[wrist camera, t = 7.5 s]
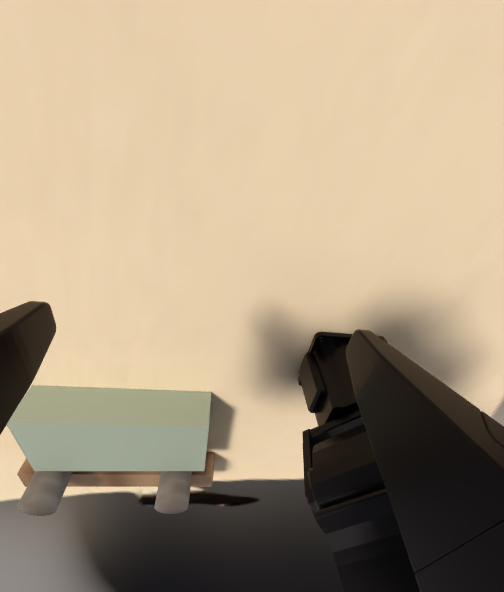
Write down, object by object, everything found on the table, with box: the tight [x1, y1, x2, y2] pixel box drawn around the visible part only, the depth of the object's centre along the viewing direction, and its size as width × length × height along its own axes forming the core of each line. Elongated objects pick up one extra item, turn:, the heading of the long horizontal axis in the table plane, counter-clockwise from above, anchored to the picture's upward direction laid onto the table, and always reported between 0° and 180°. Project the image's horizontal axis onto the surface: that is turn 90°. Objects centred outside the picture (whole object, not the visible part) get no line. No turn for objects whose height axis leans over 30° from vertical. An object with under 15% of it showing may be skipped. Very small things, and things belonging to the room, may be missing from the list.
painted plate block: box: [7, 385, 211, 471], centre depth 27 cm, size 16×8×4 cm, turn 82°
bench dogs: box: [17, 452, 214, 516], centre depth 30 cm, size 20×6×6 cm, turn 81°
